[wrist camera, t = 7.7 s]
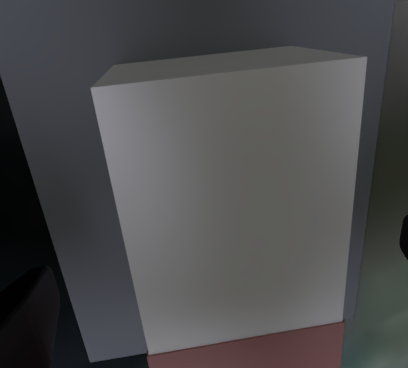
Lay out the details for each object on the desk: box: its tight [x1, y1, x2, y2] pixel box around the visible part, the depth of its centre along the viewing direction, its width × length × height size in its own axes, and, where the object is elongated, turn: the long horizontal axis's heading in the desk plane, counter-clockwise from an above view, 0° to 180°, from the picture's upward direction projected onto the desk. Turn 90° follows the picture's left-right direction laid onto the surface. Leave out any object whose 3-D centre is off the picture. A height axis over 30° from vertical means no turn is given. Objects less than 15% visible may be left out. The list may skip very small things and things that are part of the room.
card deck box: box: [90, 46, 367, 368], centre depth 10 cm, size 5×9×4 cm, turn 5°
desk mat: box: [0, 0, 395, 362], centre depth 12 cm, size 13×11×1 cm
